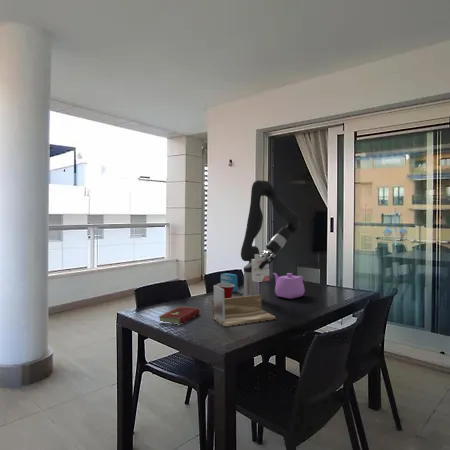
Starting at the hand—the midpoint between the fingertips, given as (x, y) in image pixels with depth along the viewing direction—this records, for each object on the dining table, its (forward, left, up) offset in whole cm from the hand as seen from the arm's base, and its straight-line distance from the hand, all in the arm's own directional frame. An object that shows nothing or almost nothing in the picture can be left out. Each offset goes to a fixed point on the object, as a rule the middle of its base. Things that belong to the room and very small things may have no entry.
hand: (257, 267), depth 193 cm
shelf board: (+5, -11, -25) cm, 28 cm away
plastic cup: (-28, -7, -25) cm, 38 cm away
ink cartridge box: (0, +2, -7) cm, 8 cm away
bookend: (+5, -24, -23) cm, 34 cm away
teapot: (-28, +37, -25) cm, 53 cm away
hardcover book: (-10, -40, -26) cm, 49 cm away
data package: (-61, +9, -25) cm, 67 cm away
